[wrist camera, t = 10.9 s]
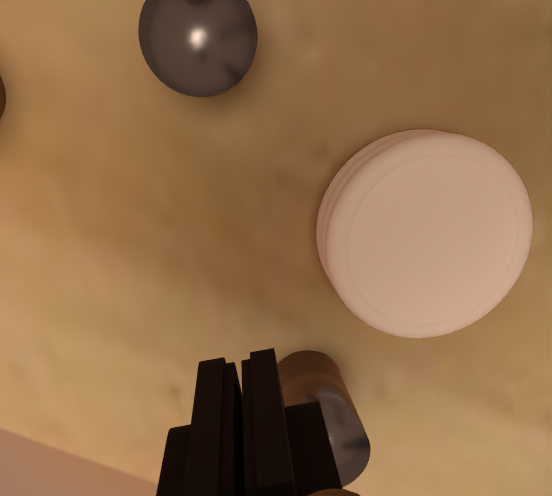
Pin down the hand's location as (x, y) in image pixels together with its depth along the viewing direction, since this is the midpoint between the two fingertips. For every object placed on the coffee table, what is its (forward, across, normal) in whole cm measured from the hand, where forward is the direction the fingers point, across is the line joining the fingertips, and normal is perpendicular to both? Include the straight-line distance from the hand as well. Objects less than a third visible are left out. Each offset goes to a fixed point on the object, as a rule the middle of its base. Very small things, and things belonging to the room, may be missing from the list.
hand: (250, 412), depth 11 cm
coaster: (+16, -9, +2) cm, 18 cm away
